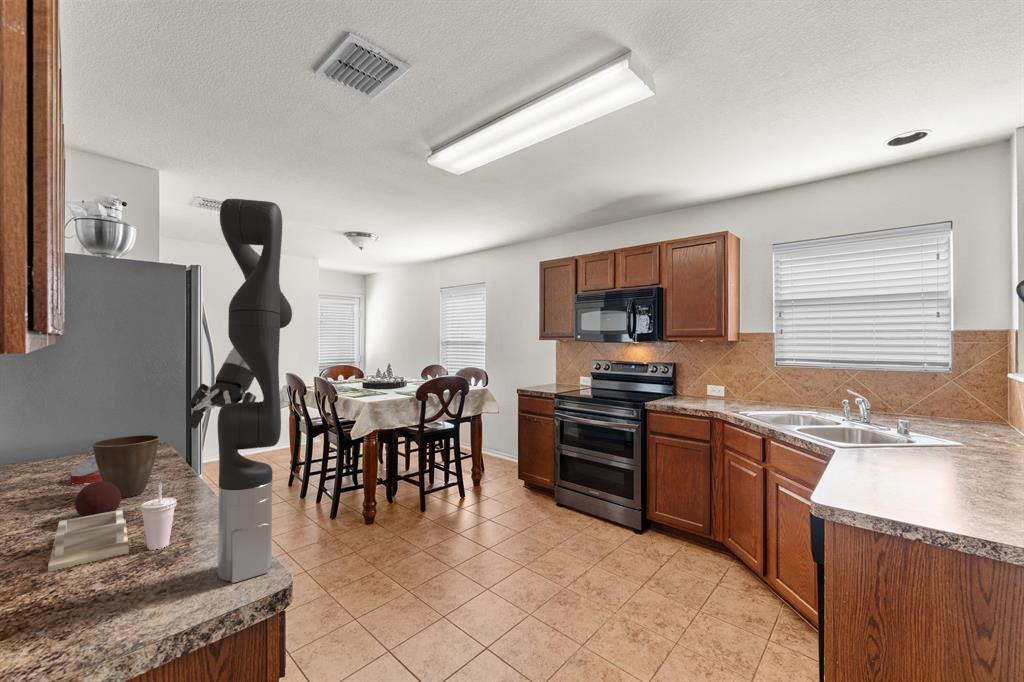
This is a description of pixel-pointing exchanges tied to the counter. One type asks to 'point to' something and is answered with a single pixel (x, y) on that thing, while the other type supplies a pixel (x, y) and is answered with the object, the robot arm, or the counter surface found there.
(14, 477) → the counter surface
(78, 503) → the potato
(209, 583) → the counter surface
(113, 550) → the dock
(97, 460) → the plant pot
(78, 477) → the canned food
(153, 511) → the smoothie
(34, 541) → the counter surface
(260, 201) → the robot arm
